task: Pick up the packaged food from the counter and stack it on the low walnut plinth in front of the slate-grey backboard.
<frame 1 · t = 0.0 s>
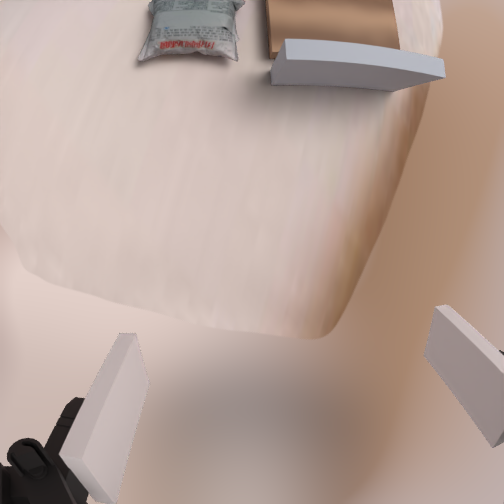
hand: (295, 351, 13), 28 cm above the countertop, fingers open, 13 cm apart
backboard: (335, 78, 35), on the countertop
plinth: (327, 0, 31), on the countertop
packaged food: (193, 35, 32), on the countertop
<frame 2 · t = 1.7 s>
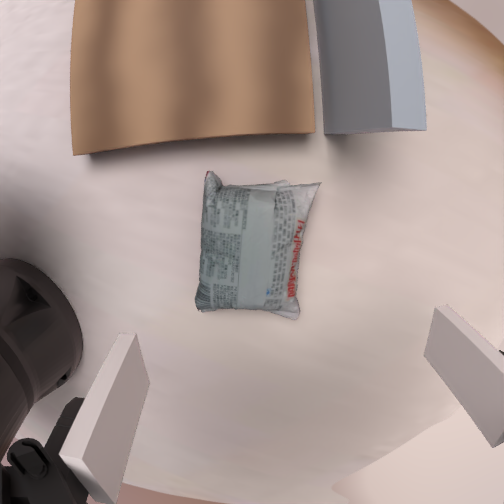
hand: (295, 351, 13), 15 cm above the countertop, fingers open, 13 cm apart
backboard: (329, 43, 22), on the countertop
plinth: (188, 46, 22), on the countertop
packaged food: (256, 242, 28), on the countertop
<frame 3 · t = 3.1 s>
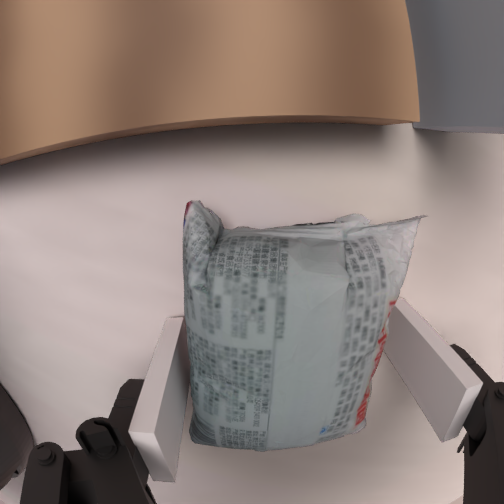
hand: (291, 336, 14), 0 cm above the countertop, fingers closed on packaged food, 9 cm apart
packaged food: (292, 321, 15), on the countertop, touching gripper
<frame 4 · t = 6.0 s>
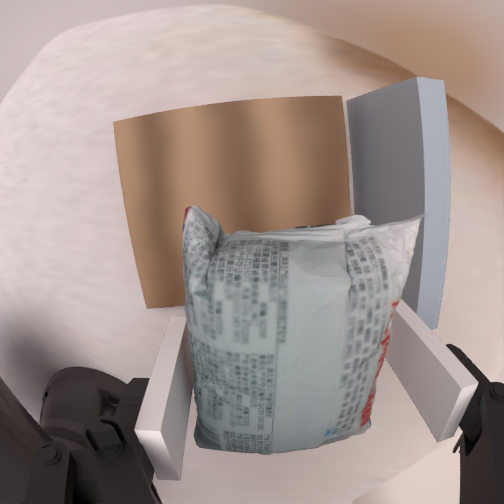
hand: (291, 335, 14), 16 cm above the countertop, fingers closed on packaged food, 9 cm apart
backboard: (363, 187, 28), on the countertop
plinth: (237, 198, 28), on the countertop
packaged food: (295, 323, 15), point 15 cm above the countertop, touching gripper
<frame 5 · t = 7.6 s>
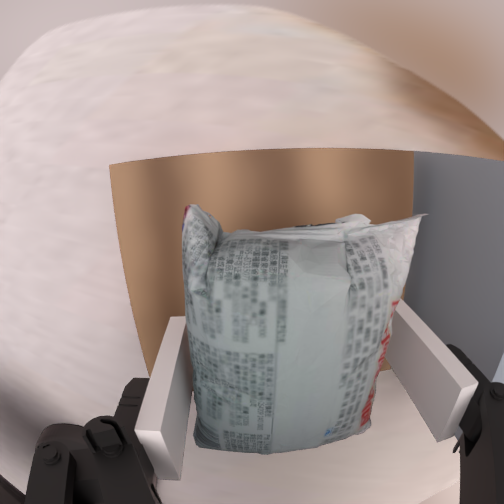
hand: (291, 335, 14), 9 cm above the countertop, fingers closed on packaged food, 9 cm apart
backboard: (415, 256, 23), on the countertop
plinth: (268, 268, 22), on the countertop
packaged food: (294, 323, 15), point 8 cm above the countertop, touching gripper
when the fingers open (5 cm above the countertop, at t = 8.8 s): packaged food drops 1 cm, resting on plinth.
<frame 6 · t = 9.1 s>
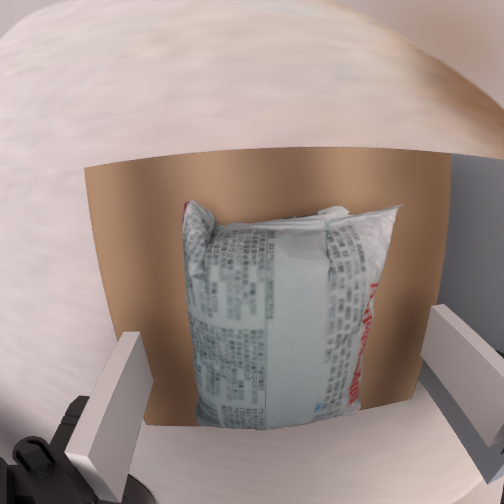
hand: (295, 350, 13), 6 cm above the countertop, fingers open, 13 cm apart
backboard: (443, 273, 19), on the countertop
plinth: (277, 289, 19), on the countertop
packaged food: (286, 308, 16), point 3 cm above the countertop, touching plinth
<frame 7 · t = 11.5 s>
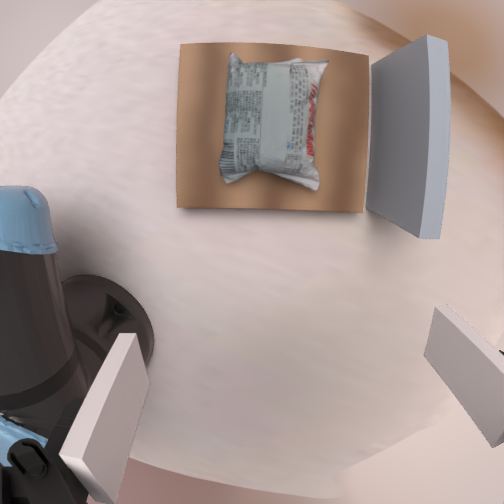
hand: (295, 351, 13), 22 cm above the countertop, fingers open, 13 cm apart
backboard: (379, 135, 31), on the countertop
plinth: (272, 125, 31), on the countertop
packaged food: (274, 121, 28), point 3 cm above the countertop, touching plinth
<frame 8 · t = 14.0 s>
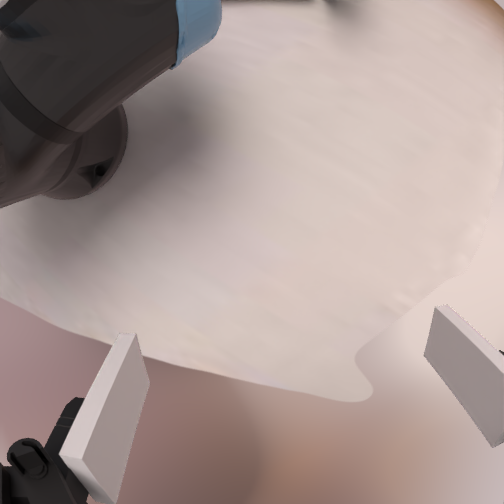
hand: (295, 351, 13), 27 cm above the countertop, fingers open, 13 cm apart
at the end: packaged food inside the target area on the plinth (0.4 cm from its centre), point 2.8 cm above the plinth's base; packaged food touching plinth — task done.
